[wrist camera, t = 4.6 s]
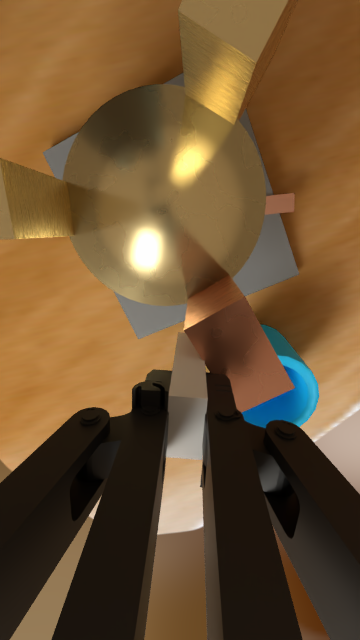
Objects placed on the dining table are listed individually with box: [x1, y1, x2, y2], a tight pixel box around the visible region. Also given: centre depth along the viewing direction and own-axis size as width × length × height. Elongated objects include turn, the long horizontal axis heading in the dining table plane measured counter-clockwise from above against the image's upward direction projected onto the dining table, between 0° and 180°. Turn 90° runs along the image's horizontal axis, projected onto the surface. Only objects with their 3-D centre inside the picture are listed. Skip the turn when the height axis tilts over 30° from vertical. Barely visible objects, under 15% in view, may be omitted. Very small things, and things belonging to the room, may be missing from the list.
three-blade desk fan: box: [0, 0, 298, 413], centre depth 16 cm, size 17×20×9 cm
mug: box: [242, 324, 319, 428], centre depth 29 cm, size 12×8×8 cm
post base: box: [43, 73, 299, 339], centre depth 24 cm, size 20×20×9 cm
